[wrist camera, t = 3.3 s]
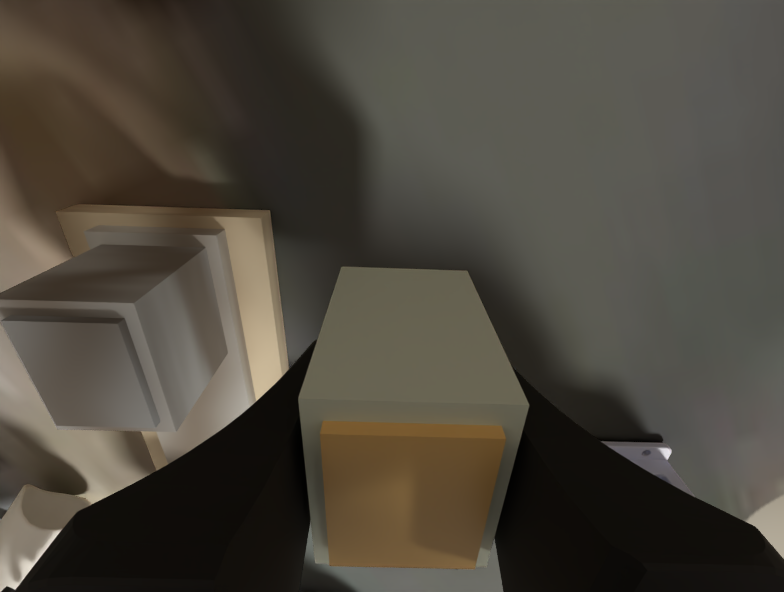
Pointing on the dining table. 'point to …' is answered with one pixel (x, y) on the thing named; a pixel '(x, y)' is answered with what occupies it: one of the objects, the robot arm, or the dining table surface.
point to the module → (408, 422)
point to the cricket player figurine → (32, 530)
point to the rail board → (153, 322)
